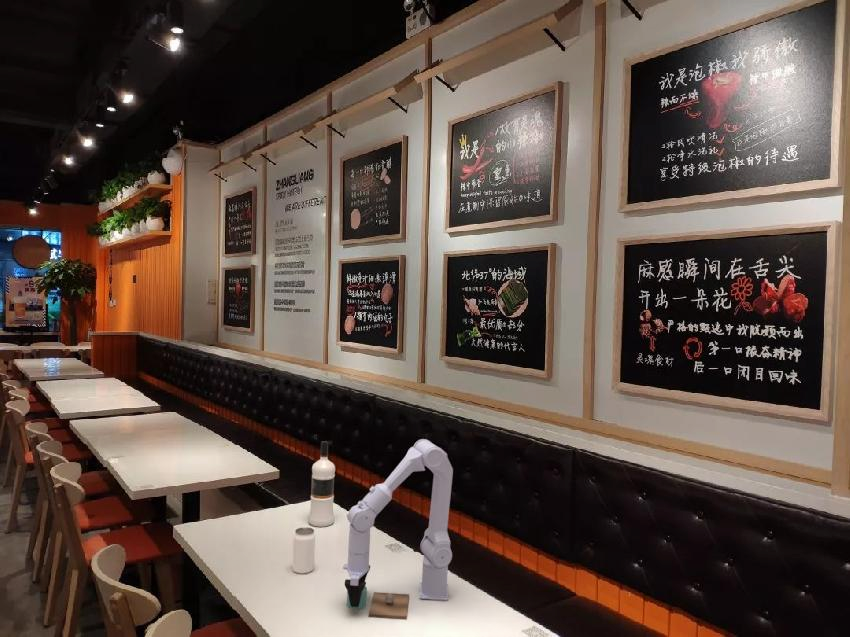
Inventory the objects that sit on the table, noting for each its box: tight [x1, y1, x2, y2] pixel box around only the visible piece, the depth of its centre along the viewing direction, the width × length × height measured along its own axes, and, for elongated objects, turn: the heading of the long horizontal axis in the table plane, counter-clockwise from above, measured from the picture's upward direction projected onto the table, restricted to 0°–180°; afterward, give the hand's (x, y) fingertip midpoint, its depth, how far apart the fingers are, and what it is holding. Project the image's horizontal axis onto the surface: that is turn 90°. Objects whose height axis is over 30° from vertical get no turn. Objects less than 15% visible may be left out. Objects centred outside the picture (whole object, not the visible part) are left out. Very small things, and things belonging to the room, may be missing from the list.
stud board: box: [367, 591, 410, 620], centre depth 171 cm, size 12×10×4 cm
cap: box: [346, 585, 368, 610], centre depth 171 cm, size 5×5×4 cm
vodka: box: [307, 440, 336, 528], centre depth 228 cm, size 9×9×30 cm
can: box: [291, 526, 316, 575], centre depth 191 cm, size 6×6×12 cm
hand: (356, 599), depth 171 cm, fingers open, 7 cm apart
